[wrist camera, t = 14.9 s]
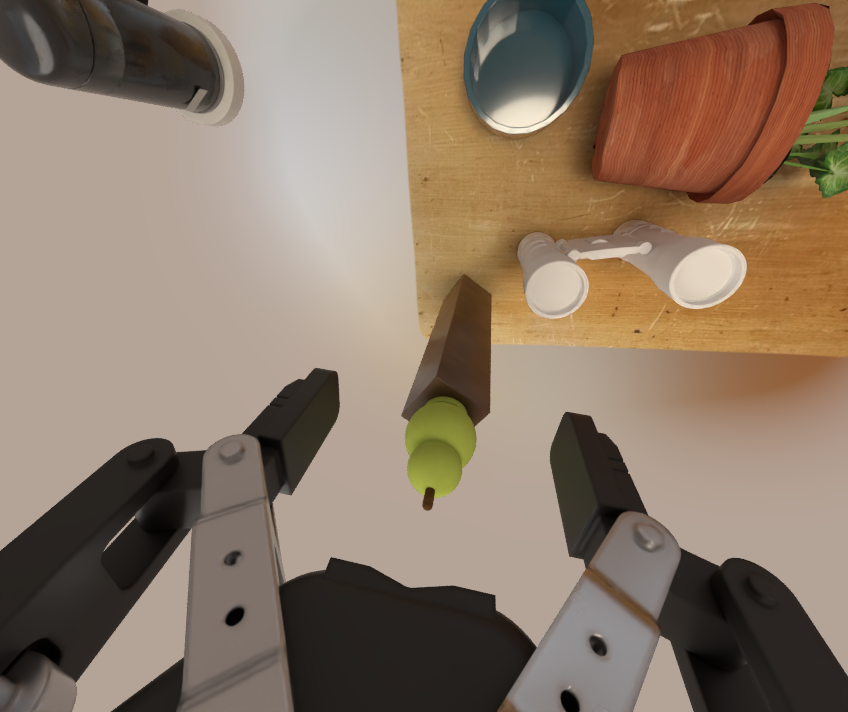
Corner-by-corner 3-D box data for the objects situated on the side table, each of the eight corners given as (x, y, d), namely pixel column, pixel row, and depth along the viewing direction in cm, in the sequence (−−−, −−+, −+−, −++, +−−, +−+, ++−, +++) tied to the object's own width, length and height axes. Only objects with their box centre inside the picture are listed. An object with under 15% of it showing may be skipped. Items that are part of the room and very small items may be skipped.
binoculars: (658, 213, 41) (756, 240, 26) (651, 257, 44) (736, 306, 28) (514, 231, 45) (525, 264, 30) (515, 271, 48) (525, 320, 32)
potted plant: (575, 202, 44) (929, 204, 36) (597, 207, 31) (1167, 211, 22) (603, 47, 37) (1049, 4, 29) (647, -34, 24) (1496, -155, 16)
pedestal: (443, 300, 52) (400, 416, 28) (463, 274, 49) (436, 376, 25) (470, 320, 53) (450, 448, 29) (491, 294, 50) (490, 412, 26)
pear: (401, 416, 28) (368, 507, 20) (437, 375, 25) (414, 463, 18) (451, 448, 29) (437, 548, 21) (491, 412, 26) (490, 511, 19)
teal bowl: (448, 96, 39) (440, 84, 33) (516, -25, 34) (521, -66, 28) (524, 160, 41) (529, 159, 35) (601, 55, 35) (623, 32, 29)
